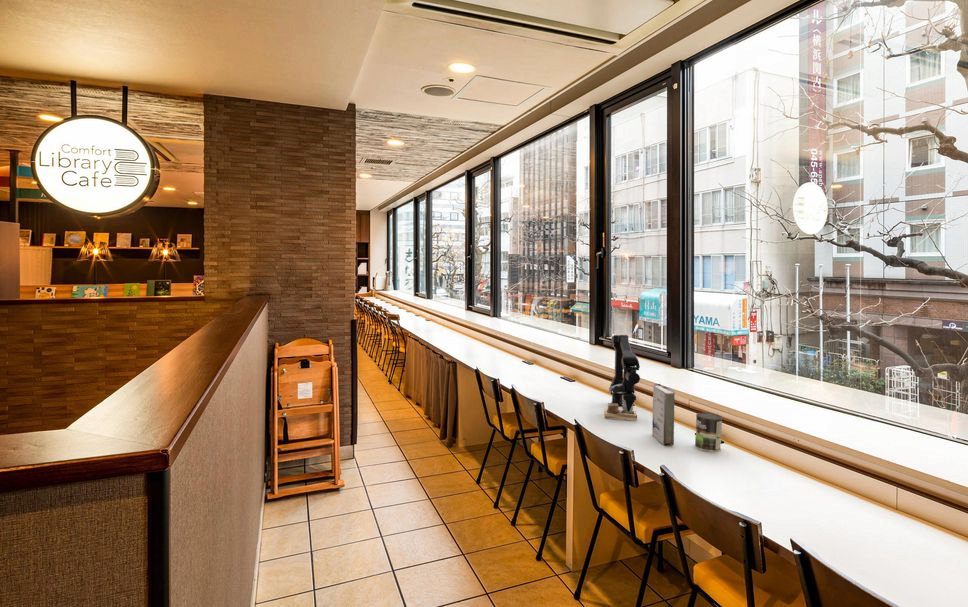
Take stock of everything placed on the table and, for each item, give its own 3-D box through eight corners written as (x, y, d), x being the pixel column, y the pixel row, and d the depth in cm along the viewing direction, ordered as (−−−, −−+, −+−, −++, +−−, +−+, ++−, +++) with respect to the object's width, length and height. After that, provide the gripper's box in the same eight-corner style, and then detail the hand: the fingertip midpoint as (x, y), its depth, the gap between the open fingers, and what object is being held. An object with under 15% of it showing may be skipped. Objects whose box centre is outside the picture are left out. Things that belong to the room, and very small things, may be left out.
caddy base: (604, 413, 270) (604, 408, 270) (635, 415, 267) (635, 411, 267) (604, 418, 262) (604, 413, 261) (637, 420, 258) (637, 415, 258)
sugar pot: (632, 410, 265) (632, 398, 265) (633, 413, 260) (633, 400, 260) (622, 410, 266) (622, 397, 266) (623, 412, 262) (623, 399, 261)
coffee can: (705, 452, 213) (706, 419, 212) (689, 444, 223) (691, 413, 223) (726, 451, 216) (727, 418, 215) (710, 443, 226) (711, 411, 225)
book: (650, 433, 237) (652, 382, 236) (662, 434, 237) (664, 383, 236) (661, 446, 221) (663, 391, 219) (674, 446, 221) (676, 391, 219)
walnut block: (617, 413, 267) (617, 403, 267) (618, 415, 262) (618, 406, 262) (607, 412, 268) (608, 402, 268) (608, 414, 263) (608, 405, 263)
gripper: (612, 375, 273) (611, 403, 274) (613, 382, 255) (612, 413, 256) (633, 376, 271) (632, 405, 272) (636, 384, 253) (635, 415, 254)
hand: (627, 409), depth 263 cm, fingers closed on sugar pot, 5 cm apart
